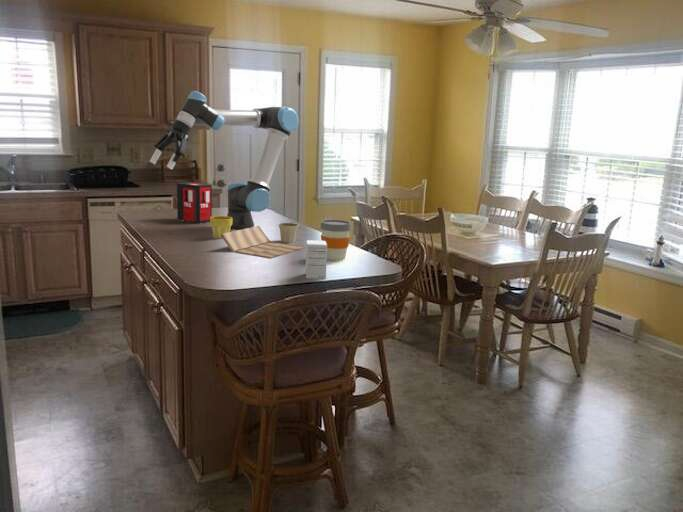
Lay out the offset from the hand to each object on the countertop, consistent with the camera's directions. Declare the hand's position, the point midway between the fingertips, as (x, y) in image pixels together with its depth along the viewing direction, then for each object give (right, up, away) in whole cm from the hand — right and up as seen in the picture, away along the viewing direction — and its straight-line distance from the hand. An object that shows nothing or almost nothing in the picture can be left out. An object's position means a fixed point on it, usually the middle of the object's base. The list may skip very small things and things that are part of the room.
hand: (160, 165), depth 258 cm
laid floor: (+49, -38, -6) cm, 62 cm away
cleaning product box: (0, -21, +61) cm, 64 cm away
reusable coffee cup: (+76, -41, -12) cm, 87 cm away
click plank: (+37, -32, -1) cm, 49 cm away
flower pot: (+54, -34, +14) cm, 66 cm away
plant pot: (+23, -31, +18) cm, 43 cm away
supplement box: (+70, -47, -43) cm, 95 cm away
